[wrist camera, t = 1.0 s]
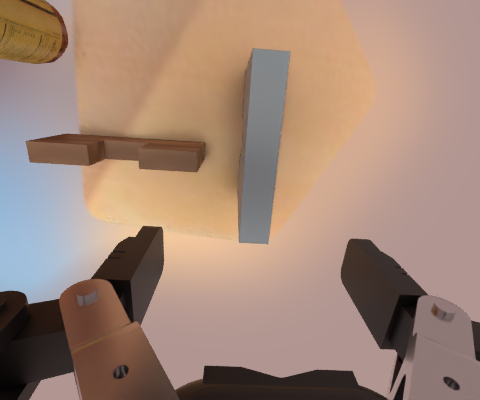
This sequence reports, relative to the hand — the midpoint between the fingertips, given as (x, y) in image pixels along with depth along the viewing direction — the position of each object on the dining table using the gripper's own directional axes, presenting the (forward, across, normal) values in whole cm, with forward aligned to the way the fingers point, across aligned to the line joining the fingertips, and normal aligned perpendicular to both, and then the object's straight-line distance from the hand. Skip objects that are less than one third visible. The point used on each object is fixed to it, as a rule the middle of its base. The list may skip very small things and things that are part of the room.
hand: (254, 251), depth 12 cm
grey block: (+22, -1, -2) cm, 22 cm away
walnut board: (+22, +12, 0) cm, 26 cm away
